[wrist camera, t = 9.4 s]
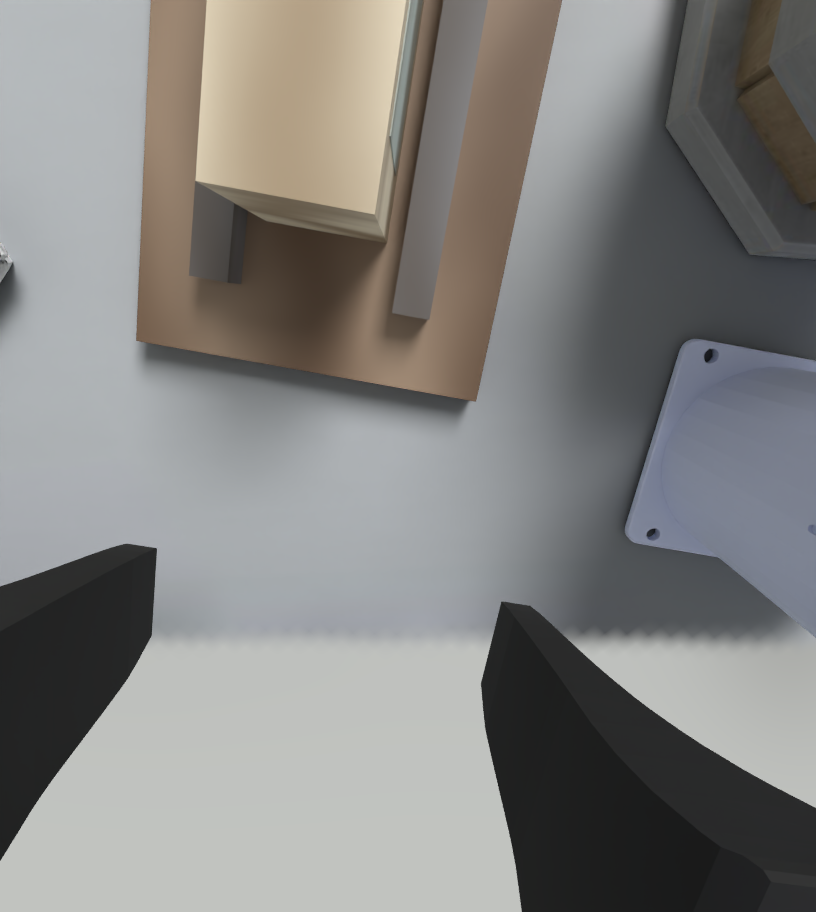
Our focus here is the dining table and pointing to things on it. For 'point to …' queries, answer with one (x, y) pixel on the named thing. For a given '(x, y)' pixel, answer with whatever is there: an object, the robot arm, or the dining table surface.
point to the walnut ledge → (342, 257)
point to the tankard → (752, 117)
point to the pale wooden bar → (307, 109)
